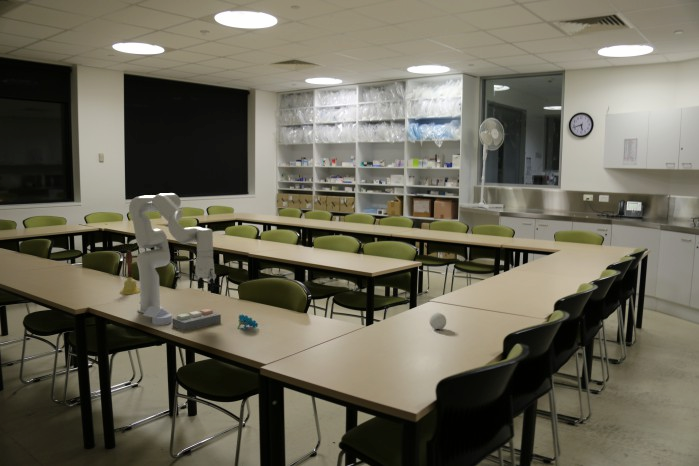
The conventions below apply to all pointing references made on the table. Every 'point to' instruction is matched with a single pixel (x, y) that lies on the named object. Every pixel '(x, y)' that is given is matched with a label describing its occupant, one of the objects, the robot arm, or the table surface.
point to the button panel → (197, 321)
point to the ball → (437, 321)
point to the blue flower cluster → (246, 321)
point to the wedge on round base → (158, 316)
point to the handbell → (129, 278)
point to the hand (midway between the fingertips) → (205, 289)
